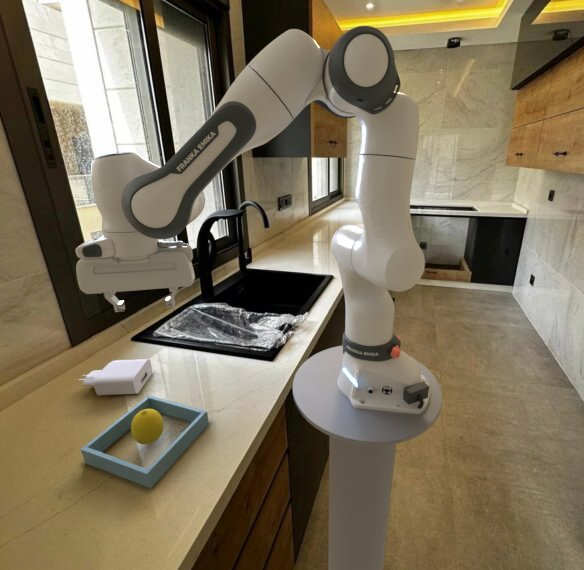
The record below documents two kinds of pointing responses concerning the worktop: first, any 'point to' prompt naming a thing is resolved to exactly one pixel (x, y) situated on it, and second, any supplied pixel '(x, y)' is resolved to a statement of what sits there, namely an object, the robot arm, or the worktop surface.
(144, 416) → the lemon
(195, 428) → the blue bin
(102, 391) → the charger
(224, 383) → the worktop surface
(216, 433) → the worktop surface
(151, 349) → the worktop surface
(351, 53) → the robot arm
